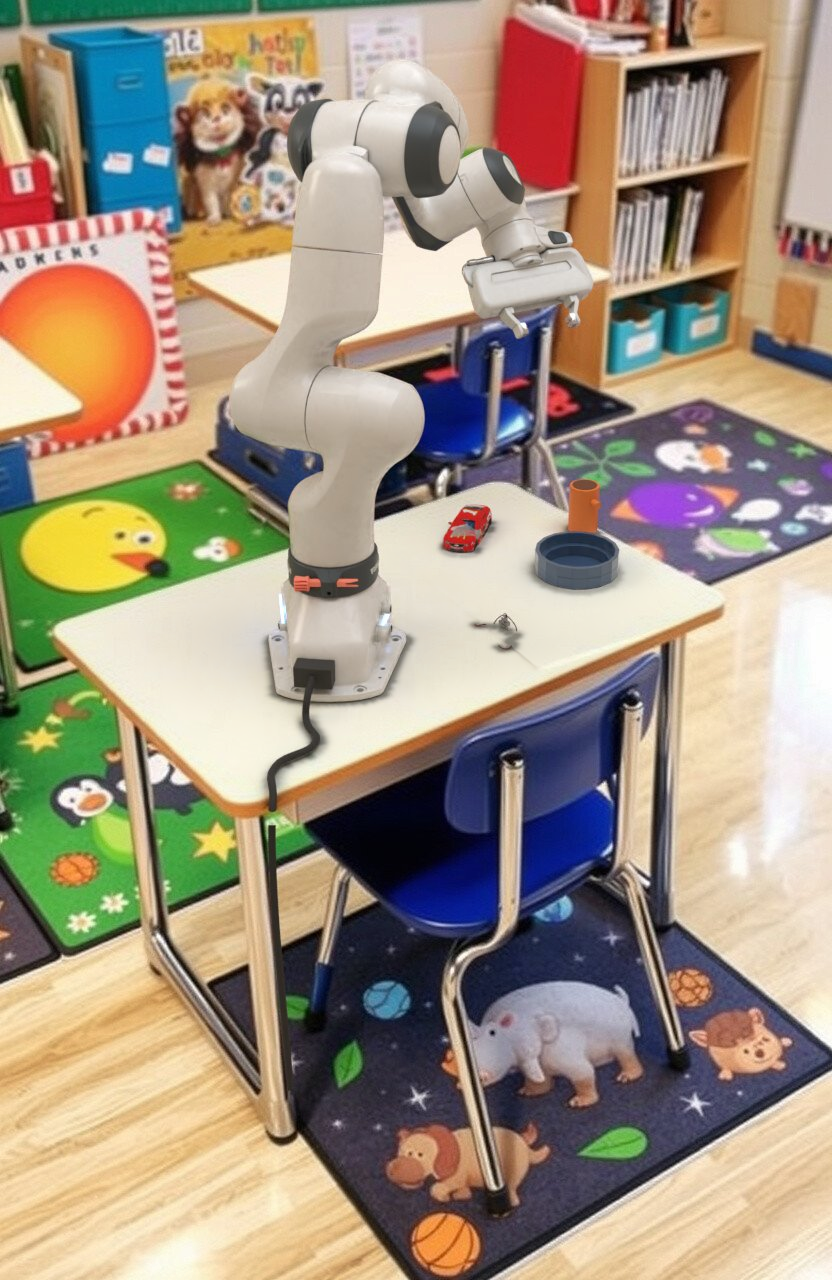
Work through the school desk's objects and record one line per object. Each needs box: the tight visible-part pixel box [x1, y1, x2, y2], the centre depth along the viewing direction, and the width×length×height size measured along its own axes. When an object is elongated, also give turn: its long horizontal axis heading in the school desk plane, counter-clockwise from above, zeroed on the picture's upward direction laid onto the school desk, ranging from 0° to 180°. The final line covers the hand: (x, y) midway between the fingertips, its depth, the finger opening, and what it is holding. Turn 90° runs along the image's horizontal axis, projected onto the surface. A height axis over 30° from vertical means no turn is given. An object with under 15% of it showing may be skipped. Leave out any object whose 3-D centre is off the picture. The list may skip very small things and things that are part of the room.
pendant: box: [474, 612, 518, 650], centre depth 191 cm, size 8×4×3 cm, turn 35°
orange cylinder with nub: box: [567, 478, 602, 533], centre depth 216 cm, size 6×5×8 cm
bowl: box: [534, 530, 620, 590], centre depth 206 cm, size 12×12×4 cm
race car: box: [442, 503, 493, 553], centre depth 217 cm, size 13×5×4 cm, turn 161°
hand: (549, 330), depth 213 cm, fingers open, 8 cm apart
